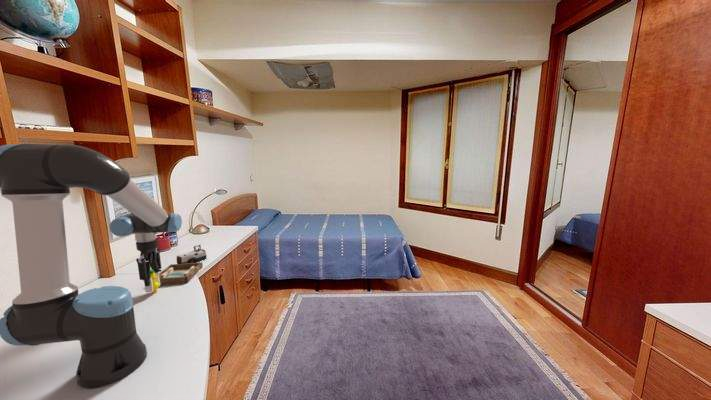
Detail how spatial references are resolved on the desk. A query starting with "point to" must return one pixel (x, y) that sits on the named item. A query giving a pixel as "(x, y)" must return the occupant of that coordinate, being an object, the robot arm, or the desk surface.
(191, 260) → the camera
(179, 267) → the walled box
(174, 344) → the desk surface
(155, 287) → the toy figure
